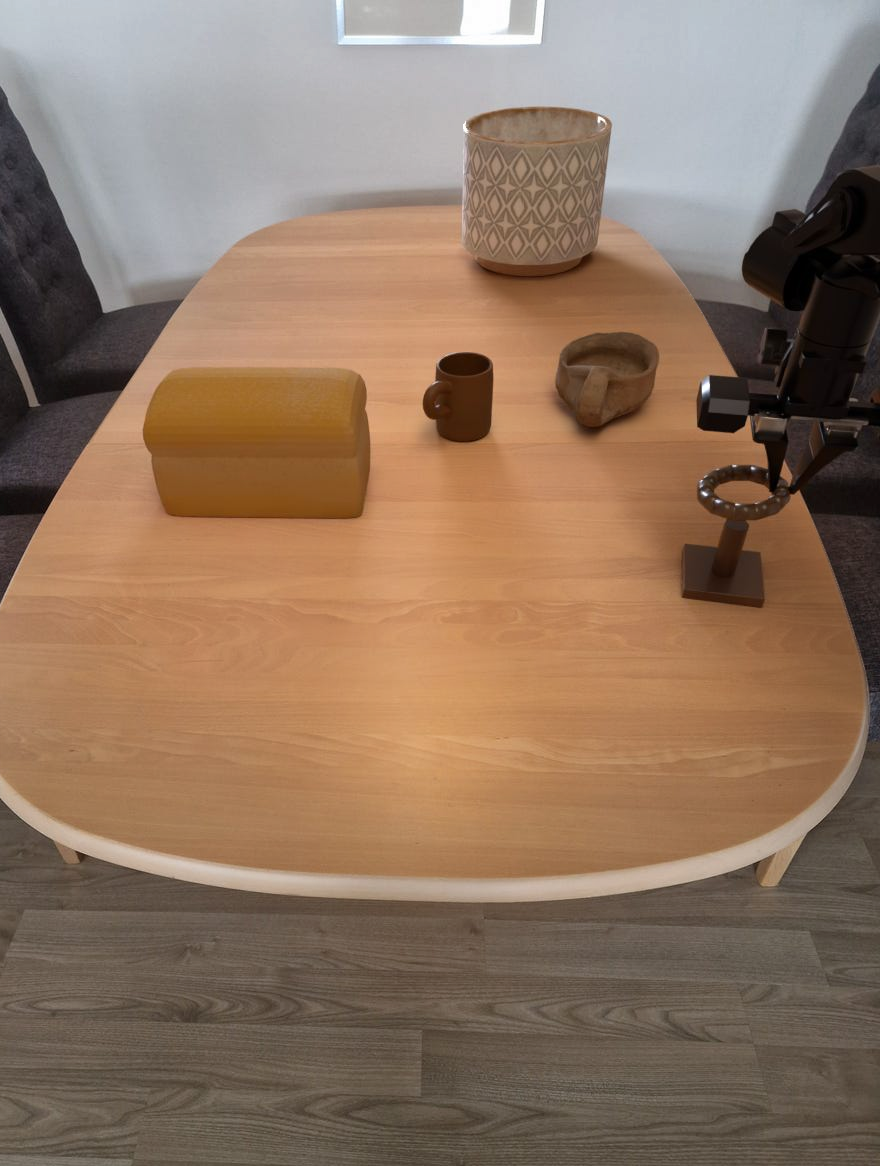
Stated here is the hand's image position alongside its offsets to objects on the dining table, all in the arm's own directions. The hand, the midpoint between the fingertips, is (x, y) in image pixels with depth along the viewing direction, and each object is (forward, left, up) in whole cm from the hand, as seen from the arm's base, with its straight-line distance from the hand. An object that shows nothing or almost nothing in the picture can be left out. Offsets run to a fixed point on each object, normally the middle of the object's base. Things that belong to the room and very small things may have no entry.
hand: (781, 491), depth 80 cm
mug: (+37, -25, -12) cm, 46 cm away
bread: (+57, -8, -12) cm, 59 cm away
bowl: (+18, -35, -12) cm, 41 cm away
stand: (+3, -1, -12) cm, 12 cm away
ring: (+3, 0, -1) cm, 3 cm away
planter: (+36, -93, -12) cm, 100 cm away
